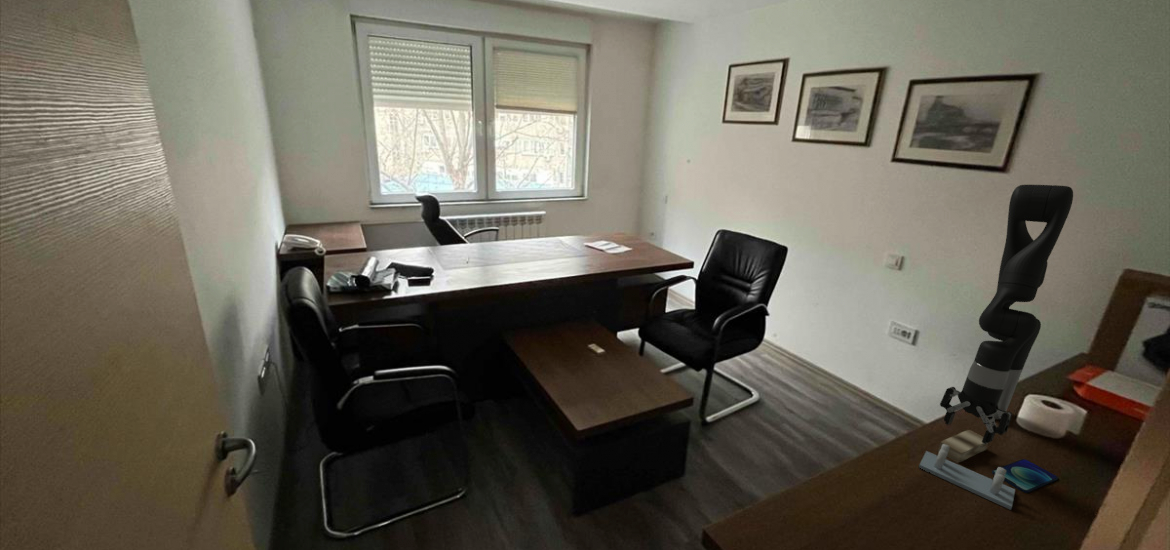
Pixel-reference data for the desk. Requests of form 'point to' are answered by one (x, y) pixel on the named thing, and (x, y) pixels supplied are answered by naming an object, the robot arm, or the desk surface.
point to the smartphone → (1026, 475)
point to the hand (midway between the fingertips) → (966, 432)
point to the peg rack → (969, 478)
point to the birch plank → (964, 445)
